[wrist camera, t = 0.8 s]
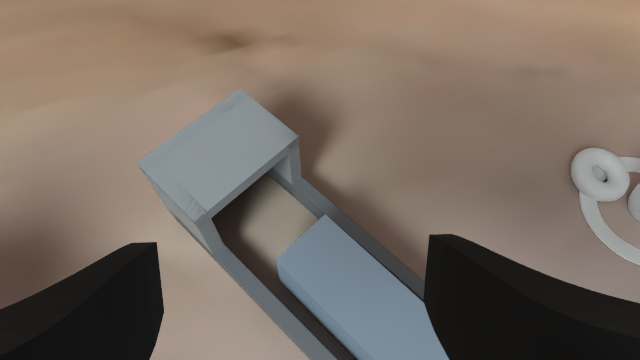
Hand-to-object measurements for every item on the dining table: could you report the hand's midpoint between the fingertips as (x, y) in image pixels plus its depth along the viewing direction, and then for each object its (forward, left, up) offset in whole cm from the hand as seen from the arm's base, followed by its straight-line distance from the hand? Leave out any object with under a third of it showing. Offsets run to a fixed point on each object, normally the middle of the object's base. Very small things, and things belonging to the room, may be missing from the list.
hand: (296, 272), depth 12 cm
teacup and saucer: (-8, -24, -15) cm, 29 cm away
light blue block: (-2, -3, -14) cm, 15 cm away
